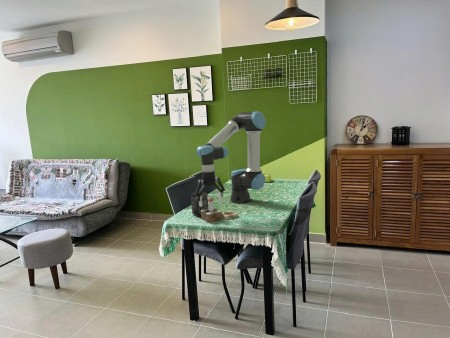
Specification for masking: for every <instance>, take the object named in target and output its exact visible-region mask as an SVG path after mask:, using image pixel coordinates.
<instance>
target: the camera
mask: <svg viewBox="0 0 450 338" xmlns="http://www.w3.org/2000/svg"><path fill="white" fill-rule="evenodd" d="M194 193H195V192H192V193H190V196H191V197H190V203H191V204H190V205H191V213H192V215H193V216H196V217H201V210H204V209H208V199H209V198H208V196H209V195H208V193H207V192H205V191H203V192H202V194H201V196H202V207H201V206H199V201H198V198H197V196H195V195H194Z"/></svg>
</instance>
